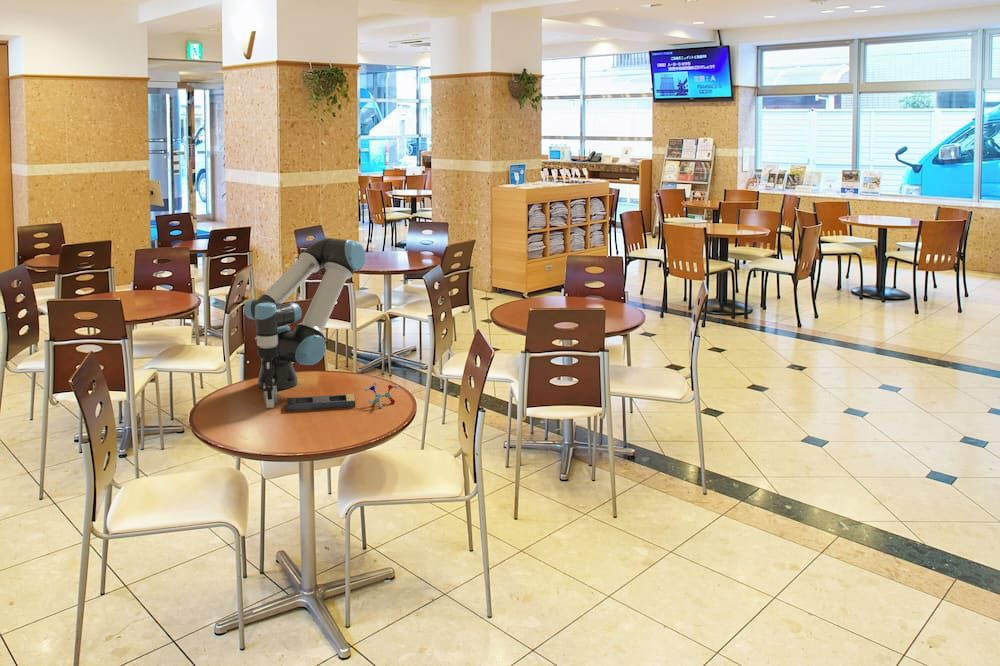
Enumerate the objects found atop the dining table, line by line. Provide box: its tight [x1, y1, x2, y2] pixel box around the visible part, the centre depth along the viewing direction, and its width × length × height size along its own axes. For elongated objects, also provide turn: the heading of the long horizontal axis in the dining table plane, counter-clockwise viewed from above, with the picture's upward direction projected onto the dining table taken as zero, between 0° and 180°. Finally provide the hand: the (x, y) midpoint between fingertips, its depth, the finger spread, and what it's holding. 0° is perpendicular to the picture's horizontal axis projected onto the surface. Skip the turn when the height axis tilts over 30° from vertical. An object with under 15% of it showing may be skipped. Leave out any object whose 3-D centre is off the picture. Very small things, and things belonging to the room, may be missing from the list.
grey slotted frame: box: [286, 393, 356, 413], centre depth 319 cm, size 8×24×3 cm, turn 103°
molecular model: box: [364, 381, 399, 409], centre depth 321 cm, size 12×10×10 cm
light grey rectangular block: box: [263, 382, 279, 406], centre depth 322 cm, size 4×4×7 cm
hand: (270, 401), depth 323 cm, fingers open, 13 cm apart
